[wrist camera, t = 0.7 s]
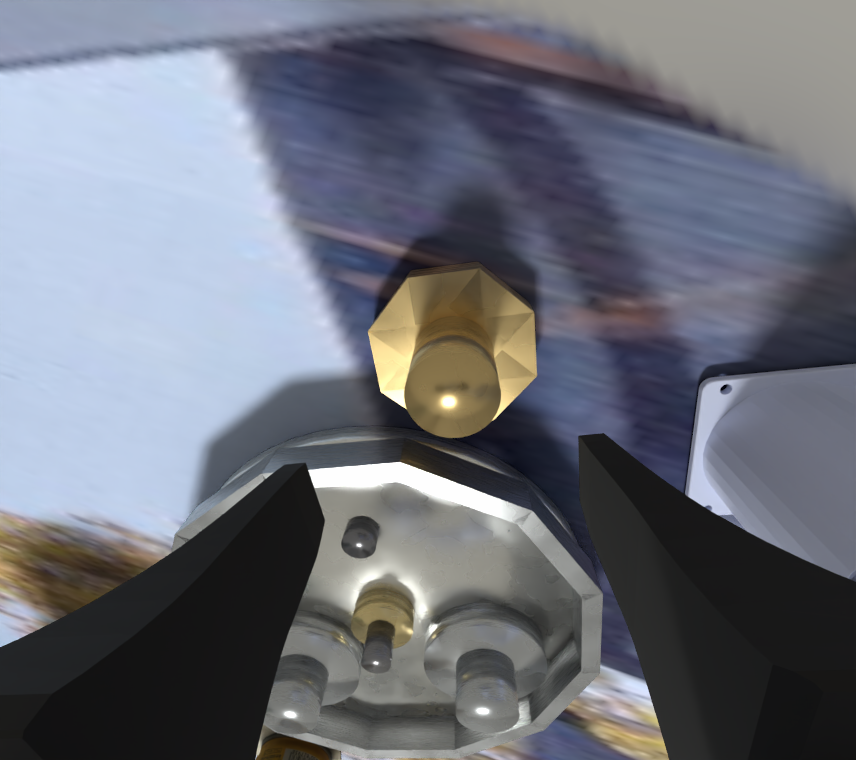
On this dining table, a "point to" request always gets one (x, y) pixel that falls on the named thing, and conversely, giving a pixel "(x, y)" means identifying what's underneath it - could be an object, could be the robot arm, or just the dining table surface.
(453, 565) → the tray
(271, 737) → the condiment
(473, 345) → the brass octagonal knob
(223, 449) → the dining table surface
